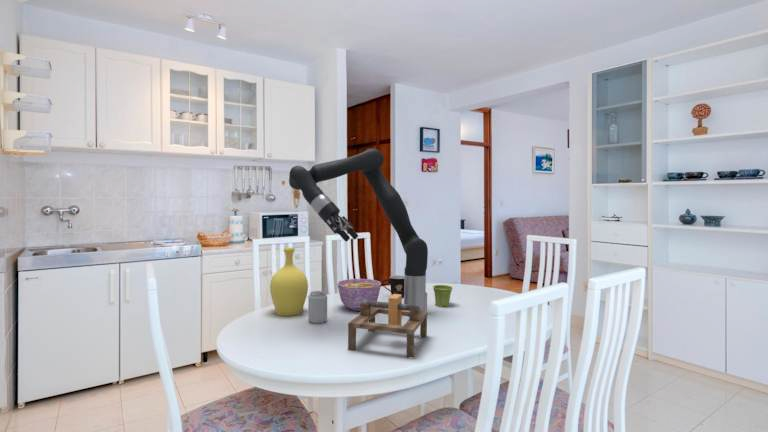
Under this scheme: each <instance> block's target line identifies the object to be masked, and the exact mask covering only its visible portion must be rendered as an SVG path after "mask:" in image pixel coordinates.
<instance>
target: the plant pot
mask: <svg viewBox="0 0 768 432" xmlns="http://www.w3.org/2000/svg"><path fill="white" fill-rule="evenodd" d="M432 289H433V292H434V299H435V300H434V302H435V305H436V306H437V307H440V306H442V308H443V307H445V306H447V307H449V306H448V305H450V300H451V294H452V290H453V289H454V287H453V286H450V285H446V284H435V285H433V286H432Z"/></svg>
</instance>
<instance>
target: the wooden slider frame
mask: <svg viewBox="0 0 768 432" xmlns="http://www.w3.org/2000/svg"><path fill="white" fill-rule="evenodd" d="M398 309H399V310H402V317H403V316H404V317H409V318H408V319H407V321H406V322H405V324H403V325H401V326H400V325H391V324H388V323H382V322H381V323H379V322H376V315H378V314H379V315H381V314H383V315H388V301H377V302H376V301H366V300H363V301H362V303H361V304H360V311H359V314H358V315H357V316H355V317H354V318H352V319H350V321H349V322H347V326H348V327H347V330H348V331H347V345H348V346H347V350H349V351H355V349H356V348H357V329H362V330H367V331H368V332H373V333H374V332H375V331H379V332H386V333H387V332H388V333H396V334H405V335H406V358H409V357H413V358H414V357H415V332H416V331H417V330H418V328H419V330H420V331H419V335H420V336H421V337H420V336H419V337H420V338H423V337H427V336H428V311H427V312H424V311H420V307H419V306H418V305H409V304H404V303H402V304H399V305H398Z"/></svg>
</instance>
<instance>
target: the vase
mask: <svg viewBox="0 0 768 432" xmlns="http://www.w3.org/2000/svg"><path fill="white" fill-rule="evenodd" d="M295 249H296V248H295V247H284V248H283V252H284V255H285V264H284V265H283V266H282V267H281V268H280V269H279V270H277V271H276V272H274V274H273V276H272V277H271V279H270V283H269V290H270V295H271V297H270V298H271V300H272V304H273V307H274V310H275V312H276V314H277V315H278V316H281V317H282V316H283V317H291V316H297V315H300V314H302V311H303V309H304V306H305V303H306V299H307V296H308V291H309V290H308V289H309V283H308V278H307V276H306V274H305V273H304V272H303V271H302V270H301V269H299V268H297V267H296V266H295V264H294V259H293V258H294V253H295Z"/></svg>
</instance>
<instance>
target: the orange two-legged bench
mask: <svg viewBox="0 0 768 432" xmlns="http://www.w3.org/2000/svg"><path fill="white" fill-rule="evenodd" d="M387 303H388V314H387V315H388V316H387V324H391V325H400V326H402V317H403V316H402V310H399V309H398V305H399V304H403V298H402V294H393V295H392V296H391V295H390V296H389V297H388V301H387Z"/></svg>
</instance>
